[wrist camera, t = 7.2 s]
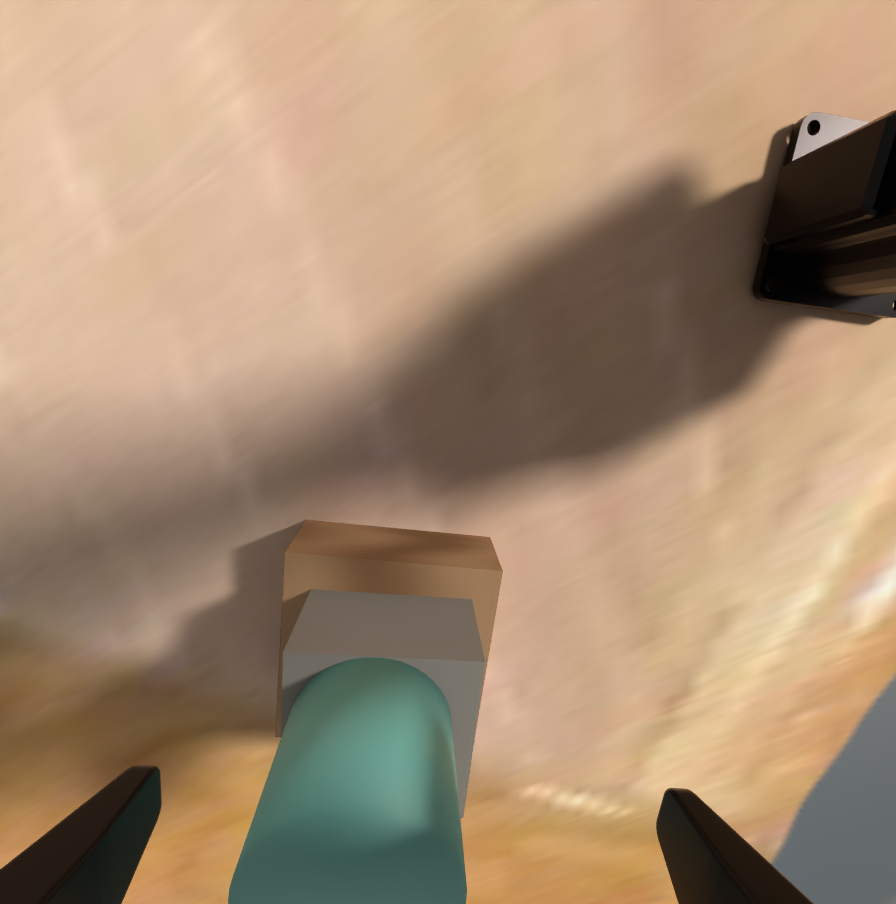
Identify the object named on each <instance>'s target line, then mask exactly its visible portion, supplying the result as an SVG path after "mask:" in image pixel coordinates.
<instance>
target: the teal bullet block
mask: <svg viewBox="0 0 896 904" xmlns="http://www.w3.org/2000/svg"><path fill="white" fill-rule="evenodd" d="M466 895H467V886H466V875H465V864H464V853H463V843H462V832H461V821H460V810H459V799H458V788H457V777H456V766H455V755H454V744H453V733H452V722H451V713H450V709H449V705H448V703H447V700H446V698H445V696H444V694H443V693H442V691H441V690H440V688H439V687H438V686H437V685H436V684H435V682H434V681H433V680H432V679H430V678H429V677H428V676H427V675H426V674H424V673H423V672H421V671H420V670H418V669H416V668H414V667H412V666H410V665H408V664H406V663H403V662H400V661H396V660H392V659H387V658H378V657H365V658H357V659H352V660H347V661H343V662H341V663H338V664H335V665H333V666H331V667H329V668H327V669H325V670H323V671H322V672H320V673H319V674H317V675H316V676H315V677H313V678H312V679H311V680H310V681H309V682H308V683H307V684H306V685H305V686H304V687H303V688H302V690H301V691H300V693H299V694H298V696H297V697H296V699H295V701H294V703H293V706H292V708H291V711H290V714H289V717H288V720H287V723H286V725H285V728H284V731H283V734H282V737H281V740H280V743H279V746H278V748H277V751H276V754H275V757H274V760H273V763H272V766H271V769H270V771H269V774H268V777H267V780H266V783H265V786H264V789H263V792H262V794H261V797H260V800H259V803H258V806H257V809H256V812H255V815H254V817H253V820H252V823H251V826H250V829H249V832H248V835H247V838H246V840H245V843H244V846H243V849H242V852H241V855H240V858H239V861H238V863H237V866H236V869H235V872H234V875H233V878H232V882H231V885H230V889H229V899H228V903H229V904H466Z"/></svg>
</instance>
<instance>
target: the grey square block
mask: <svg viewBox="0 0 896 904" xmlns="http://www.w3.org/2000/svg"><path fill="white" fill-rule="evenodd" d="M365 657H378V658H387V659H392V660H396V661H400V662H403V663H406V664H408V665H410V666H412V667H414V668H416V669H418V670H420V671H421V672H423V673H424V674H426V675H427V676H428V677H429V678H430V679H432V680H433V681H434V682H435V684H436V685H437V686H438V687H439V688H440V690H441V691H442V693H443V694H444V696H445V698H446V700H447V703H448V705H449V709H450V713H451V722H452V733H453V744H454V755H455V766H456V777H457V788H458V799H459V810H460V818H463V815H464V808H465V801H466V794H467V787H468V780H469V773H470V766H471V759H472V752H473V745H474V737H475V730H476V723H477V716H478V709H479V702H480V695H481V688H482V681H483V674H484V667H485V658H484V654H483V649H482V644H481V640H480V635H479V630H478V625H477V621H476V616H475V611H474V606H473V602H472V599H461V598H445V597H428V596H412V595H396V594H379V593H363V592H347V591H330V590H314V589H311V590H310V593H309V595H308V597H307V599H306V602H305V604H304V606H303V608H302V611H301V613H300V615H299V617H298V620H297V622H296V624H295V626H294V629H293V631H292V633H291V635H290V638H289V640H288V642H287V644H286V647H285V649H284V651H283V672H282V707H281V737H282V734H283V731H284V728H285V725H286V723H287V720H288V717H289V714H290V711H291V708H292V706H293V703H294V701H295V699H296V697H297V696H298V694H299V693H300V691H301V690H302V688H303V687H304V686H305V685H306V684H307V683H308V682H309V681H310V680H311V679H312V678H313V677H315V676H316V675H317V674H319V673H320V672H322V671H323V670H325V669H327V668H329V667H331V666H333V665H335V664H338V663H341V662H343V661H347V660H352V659H357V658H365Z"/></svg>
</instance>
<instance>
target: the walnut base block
mask: <svg viewBox="0 0 896 904" xmlns="http://www.w3.org/2000/svg"><path fill="white" fill-rule="evenodd" d="M502 572H503V571H502V568H501V565H500V563H499V560H498V557H497V555H496V552H495V549H494V547H493V544H492V541H491V539H490V537H482V536H472V535H461V534H450V533H439V532H429V531H418V530H407V529H397V528H386V527H375V526H364V525H354V524H343V523H332V522H322V521H311V520H306V521H305V522H304V524H303V525H302V527H301V528H300V530H299V531H298V533H297V534H296V536H295V537H294V539H293V541H292V542H291V544H290V545H289V547H288V548H287V550H286V551H285V560H284V579H283V598H282V618H281V637H280V656H279V675H278V694H277V714H276V733H275V737H281V707H282V672H283V651H284V649H285V647H286V644H287V642H288V640H289V638H290V635H291V633H292V631H293V629H294V626H295V624H296V622H297V620H298V617H299V615H300V613H301V611H302V608H303V606H304V604H305V602H306V599H307V597H308V595H309V593H310V590H311V589H314V590H330V591H347V592H363V593H379V594H396V595H412V596H428V597H445V598H461V599H472V602H473V606H474V611H475V616H476V621H477V625H478V630H479V635H480V640H481V644H482V649H483V654H484V658H485V667H484V674H483V681H482V688H481V695H480V702H479V709H480V703H481V697H482V691H483V685H484V679H485V673H486V667H487V661H488V655H489V650H490V644H491V638H492V632H493V626H494V620H495V614H496V608H497V602H498V596H499V590H500V584H501V578H502ZM479 709H478V715H479ZM477 721H478V716H477ZM476 727H477V723H476ZM475 733H476V730H475ZM474 739H475V737H474Z"/></svg>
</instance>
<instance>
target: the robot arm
mask: <svg viewBox="0 0 896 904" xmlns="http://www.w3.org/2000/svg"><path fill="white" fill-rule="evenodd" d="M807 126H809V127H810V128H811V135H810V134H809V133H808V131H807ZM764 239H765V240H764V243H763V247H762V251H761V255H760V259H759V263H758V267H757V271H756V275H755V279H754V283H753V288H752V291H753V295H754V296H755V297H756V298H757V299H759V300H762V301H769V302H776V303H783V304H790V305H797V306H803V307H810V308H817V309H824V310H831V311H838V312H845V313H852V314H859V315H866V316H873V317H880V318H895V317H896V110H895V111H892V112H890V113H888V114H886V115H884V116H882V117H880V118H878V119H876V120H874V121H872V122H867V121H862V120H857V119H852V118H846V117H841V116H836V115H830V114H825V113H820V112H813V113H811V114H809V115H807V116H805V117H804V118H802V119H800V120H799V121H798V122H797V123H796V124H795V126H794V128H793V130H792V134H791V138H790V142H789V146H788V150H787V153H786V157H785V161H784V165H783V168H782V170H781V173H780V177H779V180H778V184H777V188H776V192H775V196H774V200H773V204H772V208H771V212H770V216H769V220H768V224H767V228H766V231H765V235H764ZM767 282H769V283H770V290H769V292H767V290H766V284H767ZM893 302H894V307H893V308H892V306H893ZM160 810H161V781H160V770H159V768H158V767H156V766H145V765H136V766H132V767H130V768H128V769H127V770H126V771H124V772H123V773H122V774H121V775H119V776H118V777H117V778H116V779H114V780H113V781H112V782H110V783H109V784H108V785H107V786H105V787H104V788H103V789H102V790H100V791H99V792H98V793H97V794H95V795H94V796H93V797H91V798H90V799H89V800H88V801H86V802H85V803H84V804H83V805H81V806H80V807H79V808H78V809H76V810H75V811H74V812H72V813H71V814H70V815H69V816H67V817H66V818H65V819H64V820H62V821H61V822H60V823H59V824H57V825H56V826H55V827H53V828H52V829H51V830H50V831H48V832H47V833H46V834H45V835H43V836H42V837H41V838H40V839H38V840H37V841H36V842H34V843H33V844H32V845H31V846H29V847H28V848H27V849H26V850H24V851H23V852H22V853H21V854H19V855H18V856H17V857H15V858H14V859H13V860H12V861H10V862H9V863H8V864H7V865H5V866H4V867H3V868H2V869H0V904H121V903H122V901H123V899H124V897H125V894H126V892H127V890H128V887H129V885H130V883H131V880H132V878H133V876H134V873H135V871H136V869H137V866H138V864H139V862H140V859H141V857H142V855H143V852H144V850H145V848H146V845H147V843H148V841H149V838H150V836H151V834H152V832H153V829H154V827H155V825H156V822H157V820H158V817H159V814H160ZM656 829H657V835H658V839H659V843H660V846H661V849H662V852H663V855H664V859H665V862H666V865H667V868H668V871H669V874H670V878H671V881H672V884H673V887H674V890H675V894H676V897H677V900H678V903H679V904H813V903H812V902H811V901H810V900H809V899H808V898H807V897H806V896H805V895H804V894H803V893H802V892H800V891H799V890H798V889H797V888H796V887H795V886H794V885H793V884H792V883H791V882H790V881H789V880H788V879H786V878H785V877H784V876H783V875H782V874H781V873H780V872H779V871H778V870H777V869H775V868H774V867H773V866H772V865H771V864H770V863H769V862H768V861H767V860H766V859H765V858H764V857H763V856H762V855H760V854H759V853H758V852H757V851H756V850H755V849H754V848H753V847H752V846H751V845H750V844H749V843H748V842H746V841H745V840H744V839H743V838H742V837H741V836H740V835H739V834H738V833H737V832H736V831H735V830H733V829H732V828H731V827H730V826H729V825H728V824H727V823H726V822H725V821H724V820H723V819H722V818H721V817H719V816H718V815H717V814H716V813H715V812H714V811H713V810H712V809H711V808H710V807H709V806H708V805H706V804H705V803H704V802H703V801H702V800H701V799H700V798H699V797H698V796H697V795H696V794H694V793H693V792H692V791H690V790H688V789H680V788H669V789H667V790H666V791H665V793H664V796H663V800H662V803H661V807H660V811H659V814H658V818H657V823H656Z"/></svg>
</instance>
